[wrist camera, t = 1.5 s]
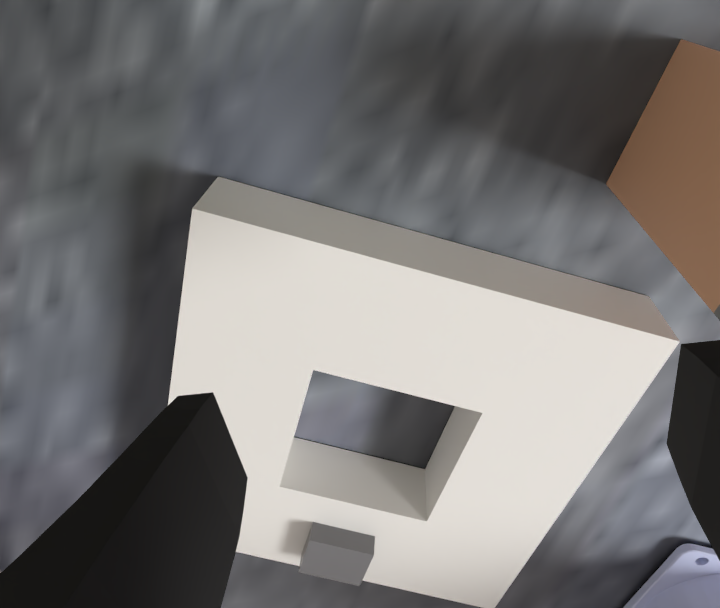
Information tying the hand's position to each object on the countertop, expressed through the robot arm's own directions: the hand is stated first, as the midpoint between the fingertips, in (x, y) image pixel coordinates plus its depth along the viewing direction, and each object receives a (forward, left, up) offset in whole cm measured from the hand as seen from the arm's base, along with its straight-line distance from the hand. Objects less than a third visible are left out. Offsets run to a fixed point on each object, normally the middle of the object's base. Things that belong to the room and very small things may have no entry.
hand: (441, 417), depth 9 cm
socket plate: (-1, +8, -10) cm, 13 cm away
